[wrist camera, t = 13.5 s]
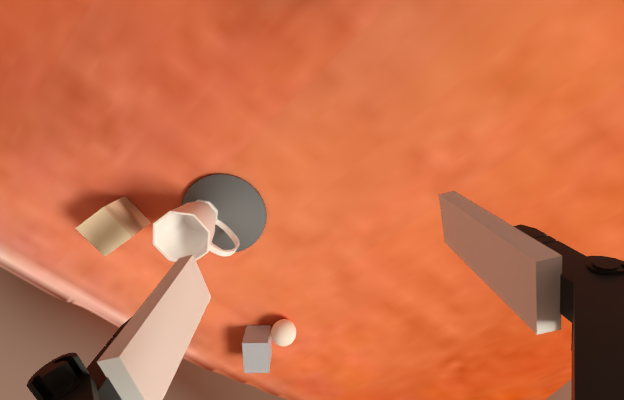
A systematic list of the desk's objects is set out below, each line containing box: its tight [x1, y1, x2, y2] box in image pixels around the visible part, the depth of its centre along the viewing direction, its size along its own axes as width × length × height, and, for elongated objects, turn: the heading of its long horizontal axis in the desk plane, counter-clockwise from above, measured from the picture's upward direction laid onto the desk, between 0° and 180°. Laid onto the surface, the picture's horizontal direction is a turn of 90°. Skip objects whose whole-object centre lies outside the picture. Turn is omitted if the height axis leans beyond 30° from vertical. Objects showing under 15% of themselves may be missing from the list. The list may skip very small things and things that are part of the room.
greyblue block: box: [242, 325, 272, 373], centre depth 49 cm, size 6×4×4 cm, turn 179°
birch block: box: [75, 196, 150, 256], centre depth 41 cm, size 5×5×5 cm
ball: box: [271, 319, 296, 346], centre depth 48 cm, size 4×4×4 cm
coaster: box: [181, 174, 266, 252], centre depth 43 cm, size 12×12×1 cm
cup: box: [153, 199, 240, 262], centre depth 39 cm, size 7×10×8 cm
